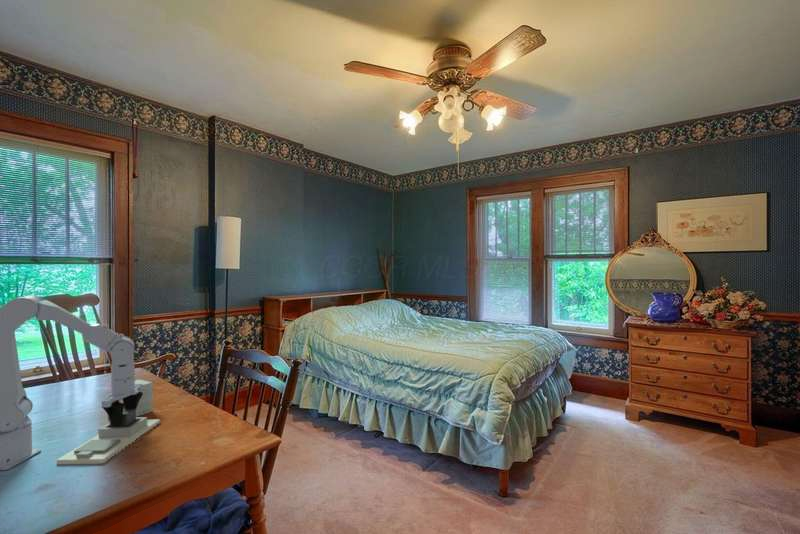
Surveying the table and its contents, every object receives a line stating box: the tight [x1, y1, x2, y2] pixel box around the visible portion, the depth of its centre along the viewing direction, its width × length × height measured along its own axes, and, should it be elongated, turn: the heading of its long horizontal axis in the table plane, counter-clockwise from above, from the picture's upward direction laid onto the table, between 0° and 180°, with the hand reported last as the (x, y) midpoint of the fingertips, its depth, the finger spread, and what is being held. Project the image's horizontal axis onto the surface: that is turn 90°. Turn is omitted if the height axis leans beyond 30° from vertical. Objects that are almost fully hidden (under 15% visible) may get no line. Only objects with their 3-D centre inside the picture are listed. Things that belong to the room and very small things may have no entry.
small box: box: [124, 379, 154, 417], centre depth 128 cm, size 8×6×10 cm
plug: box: [107, 409, 136, 428], centre depth 112 cm, size 4×6×6 cm, turn 92°
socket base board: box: [56, 416, 161, 465], centre depth 108 cm, size 24×12×4 cm, turn 2°
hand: (123, 421), depth 112 cm, fingers open, 5 cm apart
